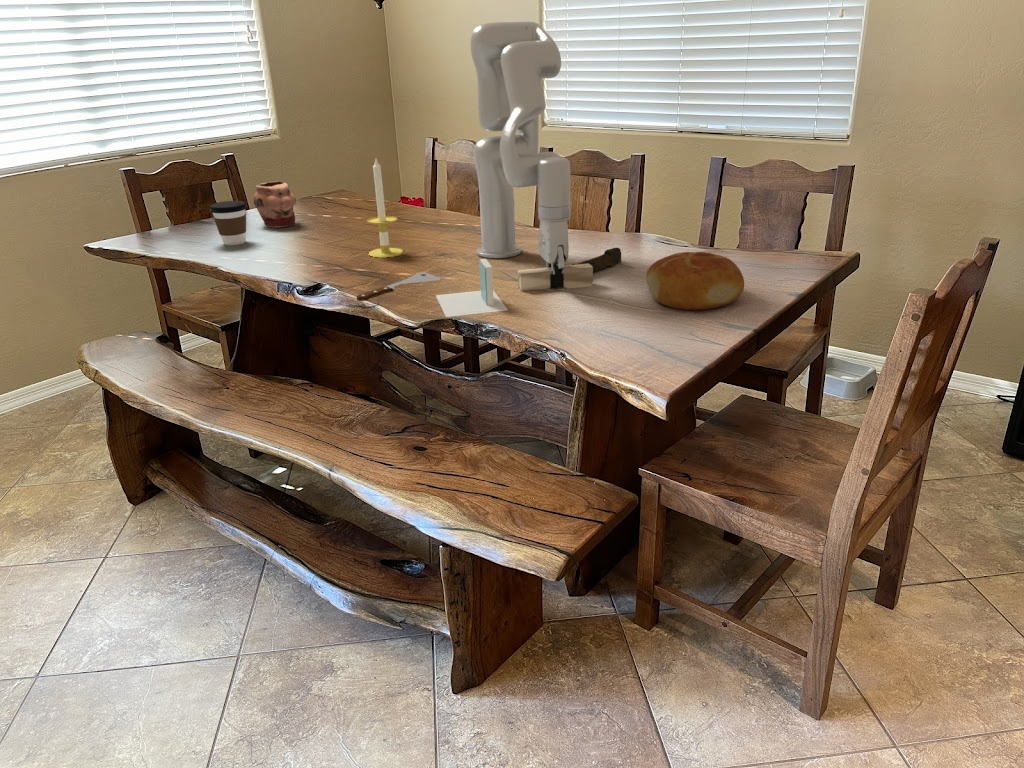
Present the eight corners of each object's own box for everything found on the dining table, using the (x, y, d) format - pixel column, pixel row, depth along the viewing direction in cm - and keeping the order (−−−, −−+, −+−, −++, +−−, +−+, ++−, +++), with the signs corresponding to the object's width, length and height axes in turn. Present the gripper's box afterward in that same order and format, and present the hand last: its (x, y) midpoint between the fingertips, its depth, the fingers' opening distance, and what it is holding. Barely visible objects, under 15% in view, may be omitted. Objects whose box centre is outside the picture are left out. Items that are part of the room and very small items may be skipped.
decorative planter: (244, 224, 264) (236, 183, 258) (274, 217, 273) (267, 177, 267) (280, 232, 253) (273, 188, 247) (310, 224, 261) (304, 182, 255)
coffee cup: (258, 238, 246) (252, 200, 241) (244, 247, 236) (237, 207, 231) (225, 238, 247) (218, 200, 242) (210, 247, 237) (202, 208, 232)
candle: (361, 256, 223) (349, 159, 212) (381, 247, 231) (372, 153, 220) (389, 259, 219) (379, 160, 207) (409, 250, 227) (401, 155, 215)
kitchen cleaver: (377, 303, 182) (349, 293, 188) (377, 307, 183) (350, 297, 189) (450, 279, 199) (423, 270, 205) (450, 283, 199) (423, 274, 205)
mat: (435, 297, 186) (435, 295, 186) (493, 291, 189) (493, 289, 189) (446, 319, 172) (446, 317, 172) (508, 312, 175) (508, 310, 175)
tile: (480, 296, 184) (478, 259, 180) (487, 295, 184) (485, 258, 181) (486, 305, 178) (485, 267, 174) (493, 305, 178) (492, 266, 174)
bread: (621, 300, 181) (622, 258, 177) (679, 277, 196) (681, 237, 191) (706, 322, 166) (709, 276, 162) (762, 295, 181) (766, 253, 176)
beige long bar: (518, 290, 190) (517, 270, 188) (588, 283, 194) (588, 263, 191) (521, 294, 187) (520, 273, 185) (592, 286, 191) (592, 266, 189)
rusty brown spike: (580, 280, 196) (581, 262, 194) (569, 277, 198) (569, 259, 196) (628, 265, 207) (629, 248, 205) (617, 262, 210) (617, 245, 208)
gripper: (530, 206, 189) (531, 279, 197) (548, 221, 175) (549, 299, 182) (559, 204, 191) (560, 276, 198) (580, 218, 176) (579, 296, 184)
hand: (554, 286), depth 190 cm, fingers closed on beige long bar, 2 cm apart
